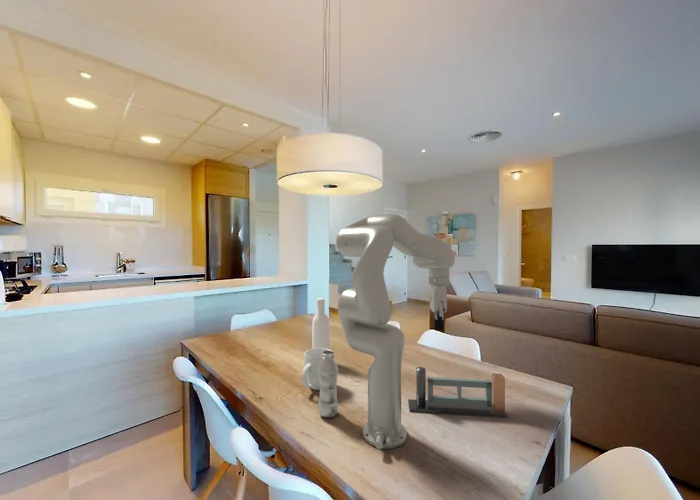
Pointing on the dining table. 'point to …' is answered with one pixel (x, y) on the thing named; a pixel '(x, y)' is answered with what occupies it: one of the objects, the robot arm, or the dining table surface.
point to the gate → (460, 400)
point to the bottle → (320, 327)
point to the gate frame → (426, 407)
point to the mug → (312, 367)
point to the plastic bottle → (328, 385)
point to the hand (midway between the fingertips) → (438, 329)
